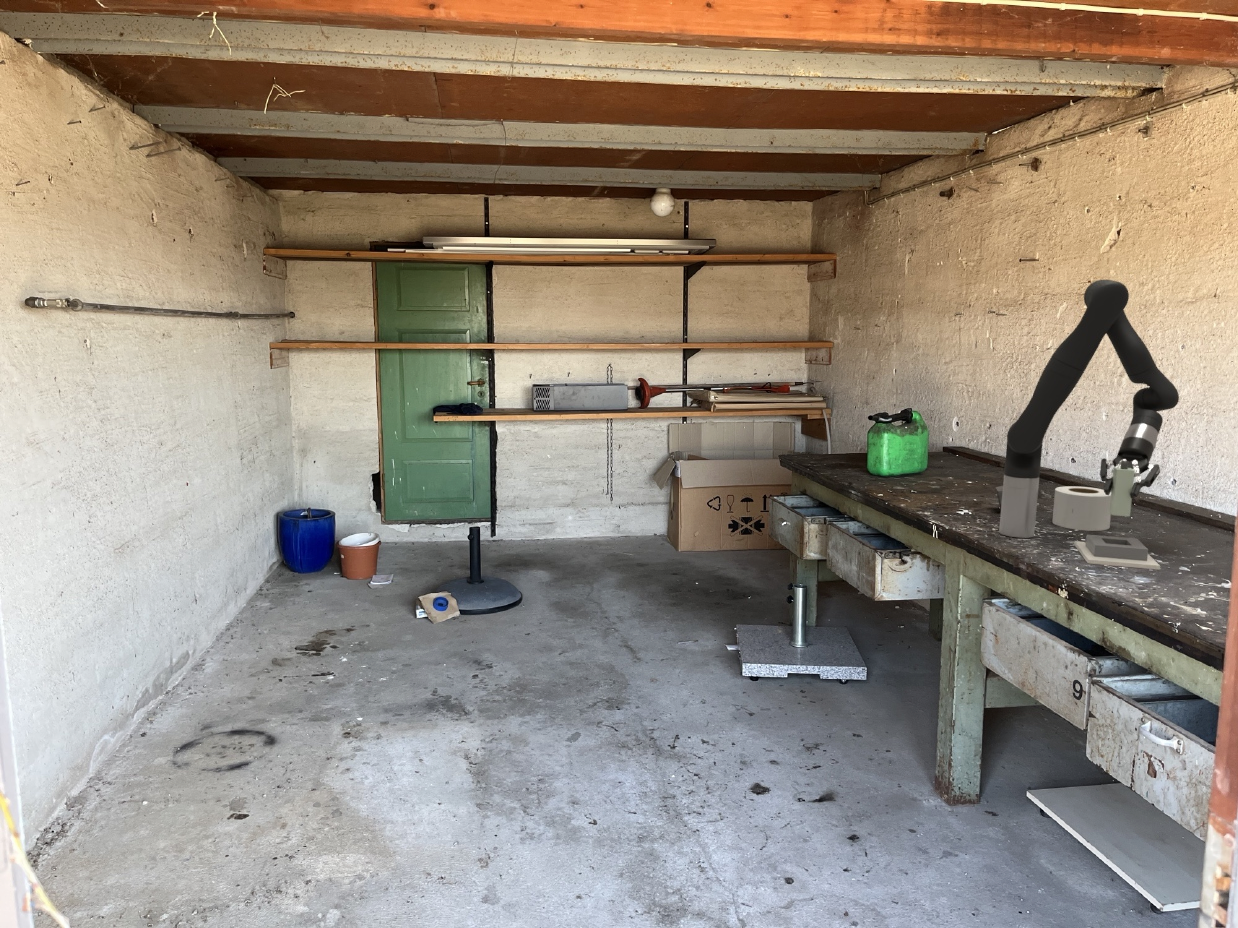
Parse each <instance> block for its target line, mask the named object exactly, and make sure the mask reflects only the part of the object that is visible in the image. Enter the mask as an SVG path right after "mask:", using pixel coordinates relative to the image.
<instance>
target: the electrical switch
mask: <svg viewBox="0 0 1238 928" xmlns="http://www.w3.org/2000/svg"><path fill="white" fill-rule="evenodd" d="M995 492H996V496H997V500H998V505H999V509H1000V510H1001V505H1002V493H1003V485H1000V486H996V487H995Z"/></svg>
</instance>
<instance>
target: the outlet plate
mask: <svg viewBox="0 0 1238 928" xmlns="http://www.w3.org/2000/svg"><path fill="white" fill-rule="evenodd" d="M1073 545H1074V546H1075V547H1076V549H1077V550H1078V552H1079V553H1080V554H1081V556H1082V557H1083V560H1085V561H1086V563H1087V564H1090V565H1102V566H1104V565H1105V566H1111V567H1112V566H1114V567H1115V566H1116V567H1126V568H1134V569H1135V568H1137V569H1138V568H1139V569H1146V570H1147V569H1148V570H1158V571H1160V570H1161V565H1160V564H1159V563H1158V562H1157V561H1156V560H1155V559H1154V558H1153V557H1152V556H1151V555H1150V554H1149V548H1147V547H1146V546H1145V544H1143V543H1142V542H1141V541H1140V540H1139V539H1138V538H1134V537H1122V536H1110V535H1108V536H1107V535H1096V534H1086V536H1085V541H1078V540H1077V541H1076V540H1075V541H1074V544H1073Z"/></svg>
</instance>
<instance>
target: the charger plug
mask: <svg viewBox="0 0 1238 928" xmlns="http://www.w3.org/2000/svg"><path fill="white" fill-rule="evenodd" d="M1128 462H1129V461H1121V468H1119V467H1114V466H1113V468H1114V470H1113V479H1112V489H1111V491H1110V492H1111V499H1110V509H1109V512H1110V513H1111V516H1119V517H1120V516H1121V517H1131V511H1132V510H1131V509H1132V500H1133V498H1131V496H1130V493H1131V490H1132V487H1133V484H1134V483H1135V482H1134V481H1135V477H1134V473H1135V470H1133V469H1132V468H1128Z"/></svg>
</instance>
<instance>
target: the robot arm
mask: <svg viewBox="0 0 1238 928" xmlns="http://www.w3.org/2000/svg"><path fill="white" fill-rule="evenodd" d="M1129 299H1130V295H1129V290H1128V288H1127V286H1126V285H1125V284H1124V283H1122V282H1121V281H1117V280H1111V279H1098V280H1095V281H1094V282H1091V283H1090V284H1089V285H1088V286H1087V288H1086V289H1085V291H1084V295H1083V302H1084V305H1085V306H1086V310H1085V311H1084V313H1083V315H1082V317H1081V319H1080V321H1079V322H1078V323H1077V325H1076V326H1075V328H1074V329H1073V331H1072V332H1071V333H1070V334H1069V335H1068V336H1067V337H1066V338H1065V339H1064V340H1063V341H1062V342H1061V343H1060V344H1059V345H1058V347H1057V348H1056V349H1055V350H1054V352H1053V354H1052V355H1051V356H1050V359H1049V360H1048V362H1047V363H1046V365H1045V367H1044V368H1043V370H1042V373H1041V375H1040V377H1039V378H1038V381H1037V384H1036V385H1035V389H1034V390H1033V394H1032V396H1031V398H1030V400H1029V402H1028V404H1027V406H1026V407H1025V409H1024V410H1023V411H1022V413H1021V414H1020V416H1019V417H1018V418H1017V420H1016V421H1015V422H1013V424H1012V425H1010V427H1009V428H1008V431H1007V434H1006V449H1005V450H1006V452H1005V461H1004V467H1003V468H1004V471H1003V485H1002V486H1003V493H1002V505H1001V509H1000V519H999V528H998V529H999V530H998V533H999V534H1001V535H1002V536H1006V537H1012V538H1023V539H1025V538H1026V539H1027V538H1033V537H1035V531H1036V530H1035V528H1036V527H1035V526H1036V518H1037V507H1038V506H1037V505H1038V495H1039V487H1040V486H1039V485H1040V484H1039V483H1040V473H1041V464H1042V455H1043V454H1042V452H1043V442H1044V441H1043V440H1044V437H1045V435H1046V433H1047V431H1048V429H1049V427H1050V424H1051V423H1052V421H1053V419H1054V417H1055V416H1056V413H1057V412H1058V411H1059V409H1060V408H1061V407H1062V405H1063V404H1064V402H1066V400H1067V399H1068V397H1069V396H1070V395H1071V393H1072V392H1073V390H1074V389H1075V388H1076V386H1077V384H1078V383H1079V382H1080V379H1082V376H1083V375H1084V373H1085V371H1086V369H1087V368H1088V366H1089V364H1090V362H1091V360H1092V359H1093V357H1094V355H1095V353H1096V351H1097V350H1098V347H1100V344H1101V342H1102V340H1103V339H1104V337H1105V335H1107V337H1108V339H1109V341H1110V343H1111V345H1112V346H1113V349H1114V351H1115V353H1116V354H1117V355H1116V356H1117V357H1118V359H1119V361H1120V363H1121V365H1122V367H1123V370H1124V371H1125V373H1126V375H1127V377H1128V379H1129V380H1130V382H1131V383H1132V384H1139V385H1141V384H1142V385H1147V387H1144V388H1140V389H1138V390H1137V392H1136V393H1134V395H1133V399H1132V419H1131V422H1130V424H1129V427H1128V429H1127V431H1126V432H1125V434H1124V436H1123V439H1122V442H1121V445H1120V447H1119V449H1118V452H1117V454H1116V457H1115V458H1113V460H1110V459H1109V460H1107V458H1102V459H1100V470H1099V477H1100V480H1101V481H1102V482H1104V485H1103V487H1102V489H1103V490H1104V493H1105V494H1106V495H1109V494H1110V492H1111V489H1112V479H1113V470H1114V467H1119V468H1121V461H1129V462H1128V468H1132V469H1133V470H1135V473H1134V480H1135V482H1133V487H1132V490H1131V493H1130V496H1131V498H1132V500H1133V499H1136V498H1138V496H1139V495H1140V492H1141V489H1143V487H1146V488H1151V487H1152V485H1153V483H1154V482H1155V481H1156V479H1157V478H1158V476H1159V475H1160V473H1161V467H1160V465H1159V463H1155V464H1154V465H1153V464H1150V461H1151V459H1152V456H1153V453H1154V451H1155V449H1156V446H1157V441H1158V436H1159V433H1160V431H1161V429H1162V427H1163V426H1162V425H1163V421H1164V420H1163V419H1164V418H1163V416H1162V415H1161V413H1159V412H1161V411H1167V410H1171V409H1174V408H1175V407H1177V405H1178V404H1179V400H1180V395H1179V391H1178V389H1177V388H1176V386H1175V385H1174V384H1173V383H1172V382H1171V380H1170V379H1168V377H1167V376H1166V375H1165V374H1164V373H1163V372H1162V371H1161V370H1160V368H1158V366H1157V363H1156V362H1155V360H1154V358H1153V357H1152V355H1151V352H1150V350H1149V349H1148V347H1147V345H1146V344H1145V342H1144V341H1143V339H1142V338H1141V337H1140V335H1139V334H1138V333H1137V331H1136V330H1135V329H1134V327H1133V325H1132V324H1131V322H1130V321H1129V319H1128V316H1127V315H1126V312H1125V308H1126V307H1127V305H1128V302H1129ZM1112 466H1113V469H1112V470H1111V472H1110V473H1109V474H1108V470H1110V468H1111V467H1112ZM1147 471H1149V472H1148V474H1147V475H1146V476H1145V477H1144V479H1142V477H1141V475H1142V474H1143V473H1145V472H1147Z"/></svg>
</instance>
